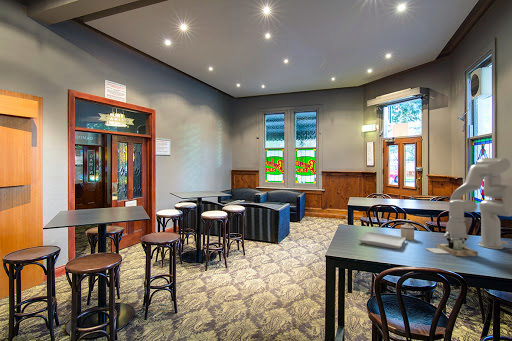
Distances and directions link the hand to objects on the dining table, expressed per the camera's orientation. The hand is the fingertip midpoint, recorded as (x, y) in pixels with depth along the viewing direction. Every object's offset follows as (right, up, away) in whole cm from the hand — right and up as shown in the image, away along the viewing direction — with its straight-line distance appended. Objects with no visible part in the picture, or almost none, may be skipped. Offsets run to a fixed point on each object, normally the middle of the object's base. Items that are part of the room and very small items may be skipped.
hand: (456, 247), depth 162 cm
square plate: (-37, -3, +20) cm, 43 cm away
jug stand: (0, -2, 0) cm, 2 cm away
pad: (-12, -2, 0) cm, 12 cm away
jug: (0, -2, -2) cm, 3 cm away
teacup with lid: (-13, -2, +31) cm, 34 cm away
